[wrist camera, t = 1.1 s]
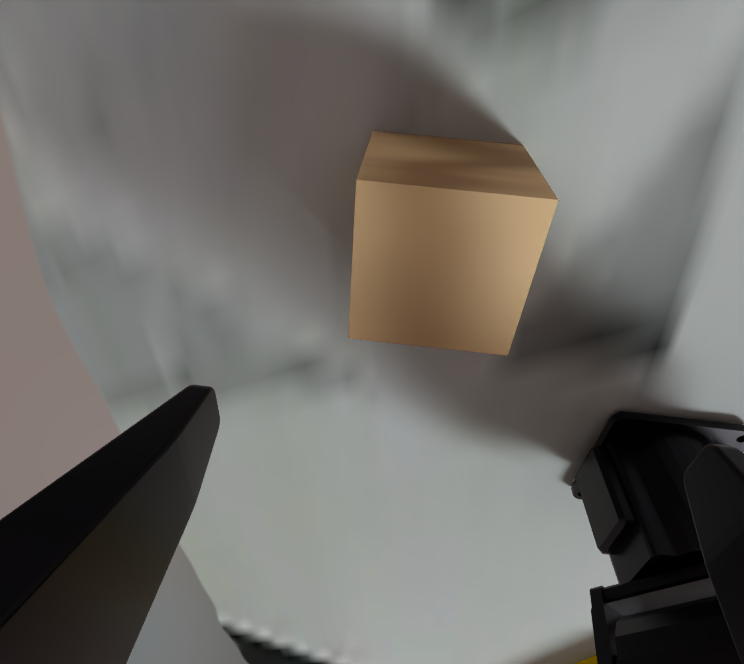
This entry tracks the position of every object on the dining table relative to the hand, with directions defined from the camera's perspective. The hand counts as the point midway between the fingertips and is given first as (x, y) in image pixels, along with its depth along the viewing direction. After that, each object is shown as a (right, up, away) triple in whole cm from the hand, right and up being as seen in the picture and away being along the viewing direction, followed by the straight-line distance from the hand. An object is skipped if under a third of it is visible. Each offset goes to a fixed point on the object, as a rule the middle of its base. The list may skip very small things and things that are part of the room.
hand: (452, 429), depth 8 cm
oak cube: (+1, +6, +8) cm, 11 cm away
